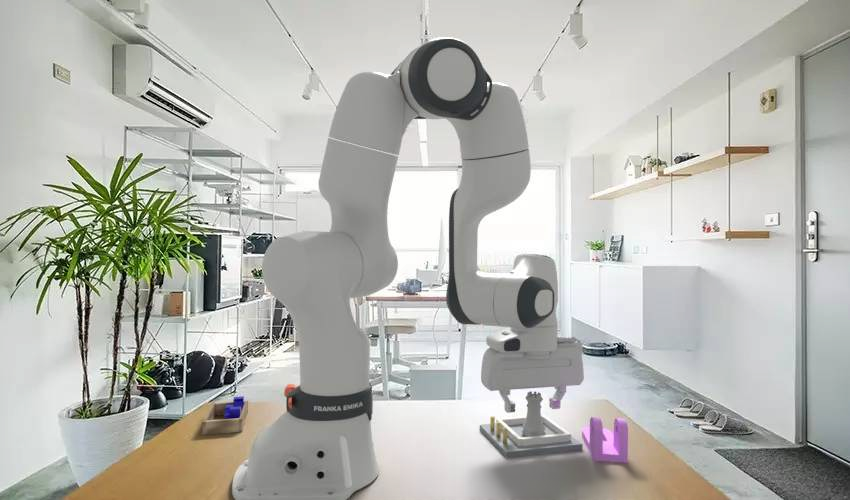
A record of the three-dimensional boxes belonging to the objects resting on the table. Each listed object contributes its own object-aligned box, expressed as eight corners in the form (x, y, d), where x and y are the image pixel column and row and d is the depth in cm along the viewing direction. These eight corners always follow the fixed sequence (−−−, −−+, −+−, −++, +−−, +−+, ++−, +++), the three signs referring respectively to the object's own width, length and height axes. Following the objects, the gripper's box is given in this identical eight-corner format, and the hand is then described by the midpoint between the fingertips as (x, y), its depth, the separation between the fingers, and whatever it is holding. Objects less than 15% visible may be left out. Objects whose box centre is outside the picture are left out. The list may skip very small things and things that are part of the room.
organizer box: (202, 434, 94) (202, 422, 94) (212, 414, 105) (212, 403, 105) (242, 431, 96) (242, 418, 96) (248, 412, 106) (248, 400, 106)
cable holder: (226, 416, 104) (226, 397, 104) (244, 414, 105) (244, 396, 105) (221, 430, 97) (221, 410, 97) (240, 428, 98) (240, 408, 98)
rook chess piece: (526, 428, 96) (527, 388, 96) (548, 433, 93) (549, 392, 93) (518, 436, 92) (518, 394, 92) (541, 441, 90) (541, 398, 90)
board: (506, 457, 85) (506, 437, 85) (479, 429, 98) (479, 412, 98) (582, 449, 89) (582, 430, 89) (547, 423, 102) (547, 406, 101)
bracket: (627, 463, 84) (628, 423, 84) (594, 461, 85) (594, 421, 84) (608, 433, 97) (609, 399, 97) (579, 432, 97) (580, 397, 97)
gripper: (573, 333, 99) (572, 401, 100) (478, 337, 94) (477, 408, 95) (591, 339, 93) (589, 411, 93) (490, 343, 88) (489, 419, 89)
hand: (532, 409), depth 94 cm, fingers open, 8 cm apart
